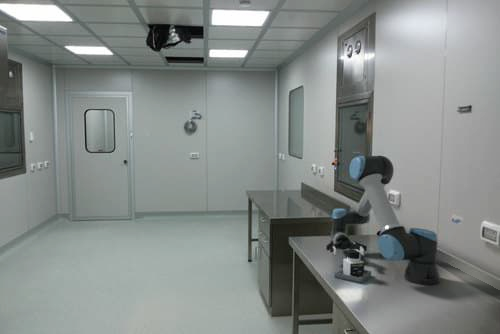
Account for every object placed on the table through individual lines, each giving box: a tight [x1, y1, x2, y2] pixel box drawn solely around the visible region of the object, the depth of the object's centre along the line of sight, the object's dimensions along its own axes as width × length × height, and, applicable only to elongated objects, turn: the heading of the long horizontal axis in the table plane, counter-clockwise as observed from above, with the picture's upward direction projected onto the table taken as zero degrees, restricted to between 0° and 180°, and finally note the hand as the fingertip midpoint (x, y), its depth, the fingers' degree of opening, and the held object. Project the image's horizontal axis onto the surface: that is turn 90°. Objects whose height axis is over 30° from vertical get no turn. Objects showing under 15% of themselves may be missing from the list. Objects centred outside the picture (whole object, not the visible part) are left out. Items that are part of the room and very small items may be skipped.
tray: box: [334, 267, 372, 285], centre depth 191 cm, size 13×13×2 cm
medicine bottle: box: [342, 249, 365, 277], centre depth 191 cm, size 7×7×12 cm
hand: (349, 252), depth 200 cm, fingers open, 13 cm apart
